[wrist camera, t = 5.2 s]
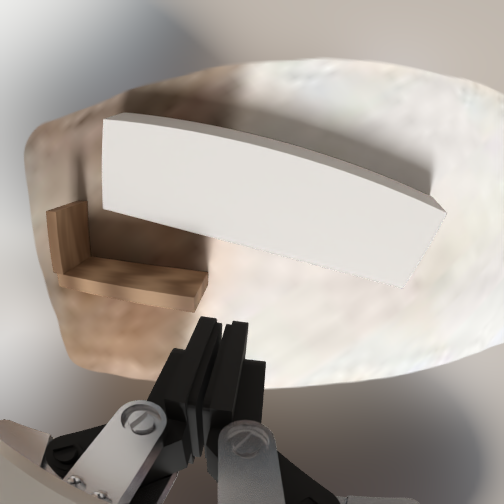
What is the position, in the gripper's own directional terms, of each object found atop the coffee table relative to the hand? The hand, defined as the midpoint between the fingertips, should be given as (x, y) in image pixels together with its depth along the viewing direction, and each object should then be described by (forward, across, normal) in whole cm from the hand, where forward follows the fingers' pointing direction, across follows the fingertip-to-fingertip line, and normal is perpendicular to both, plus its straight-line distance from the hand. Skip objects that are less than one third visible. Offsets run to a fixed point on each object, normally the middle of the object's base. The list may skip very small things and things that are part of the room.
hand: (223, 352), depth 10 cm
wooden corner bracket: (+20, +14, +3) cm, 24 cm away
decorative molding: (+21, -1, -3) cm, 21 cm away
